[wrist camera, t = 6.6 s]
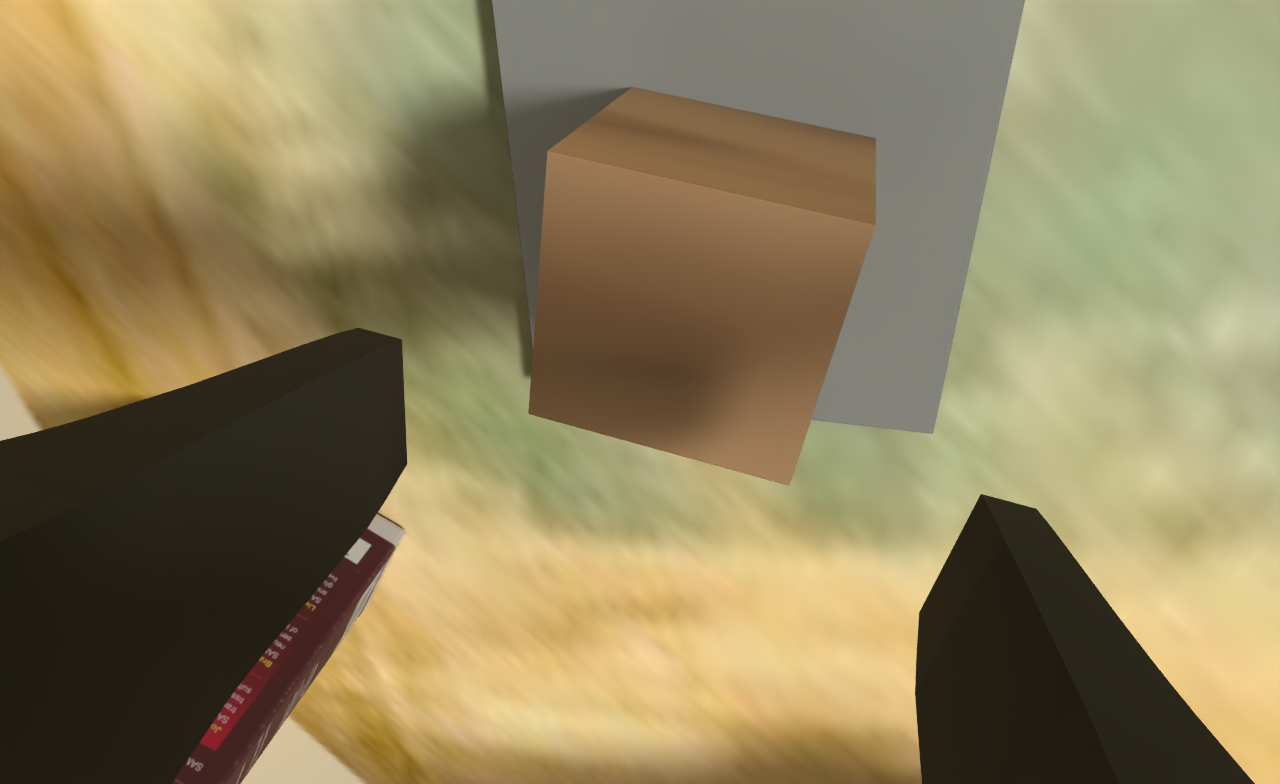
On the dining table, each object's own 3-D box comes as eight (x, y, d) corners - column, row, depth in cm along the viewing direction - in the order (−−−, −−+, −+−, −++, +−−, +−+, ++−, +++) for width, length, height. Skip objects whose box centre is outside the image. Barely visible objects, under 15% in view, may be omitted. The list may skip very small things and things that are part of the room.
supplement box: (169, 482, 28) (-447, 987, 15) (188, 393, 25) (-550, 920, 12) (376, 604, 29) (-41, 1188, 16) (416, 531, 26) (-48, 1167, 13)
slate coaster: (931, 420, 19) (933, 433, 18) (545, 376, 21) (537, 387, 20) (1030, -56, 13) (1036, -54, 13) (499, -44, 16) (487, -42, 15)
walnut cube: (808, 352, 18) (789, 485, 14) (604, 301, 19) (528, 413, 14) (875, 138, 15) (876, 225, 11) (632, 87, 16) (547, 151, 12)
